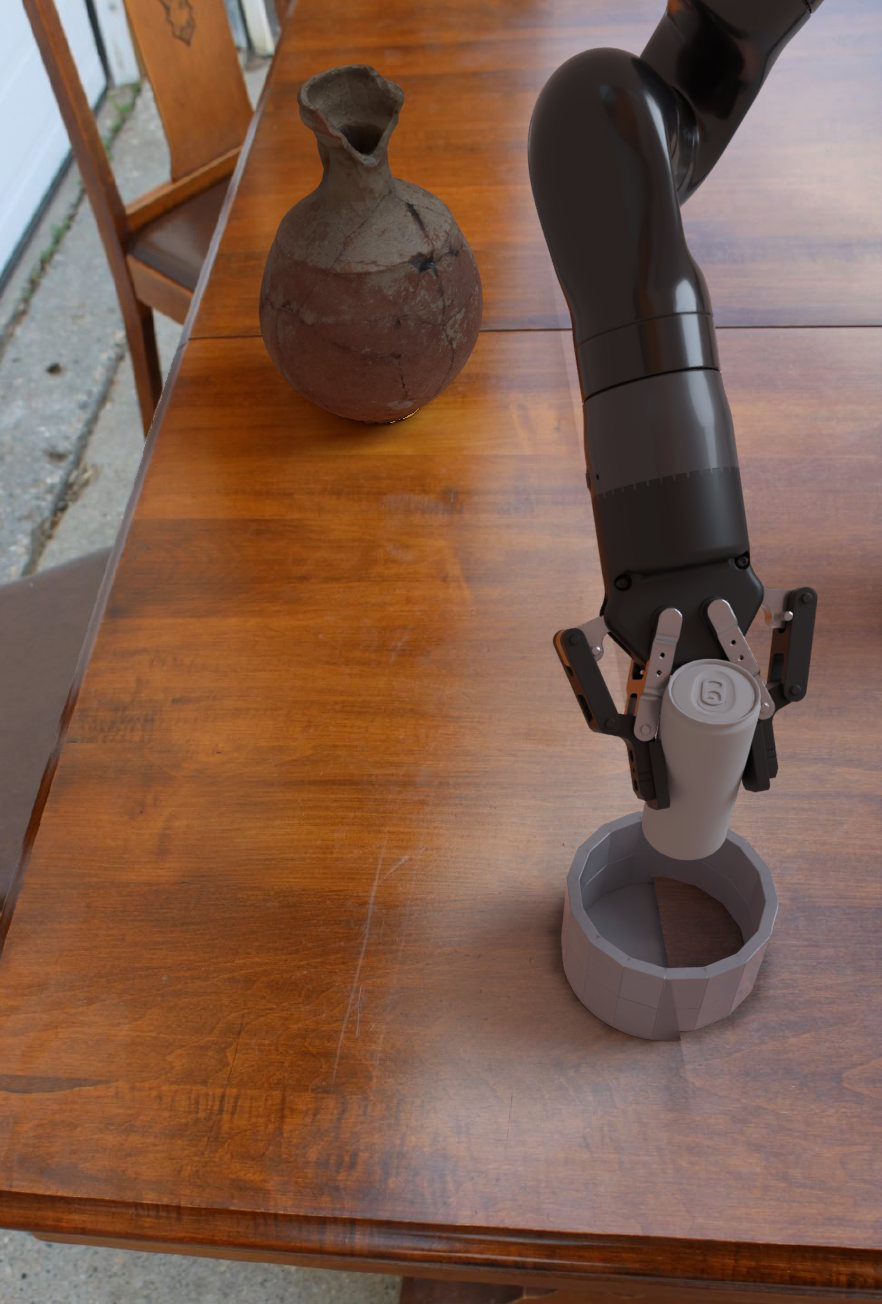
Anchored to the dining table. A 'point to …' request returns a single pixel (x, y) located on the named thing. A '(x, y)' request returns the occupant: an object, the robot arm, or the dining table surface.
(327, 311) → the jug
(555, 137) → the robot arm
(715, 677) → the beverage can
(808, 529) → the dining table surface
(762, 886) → the pot
